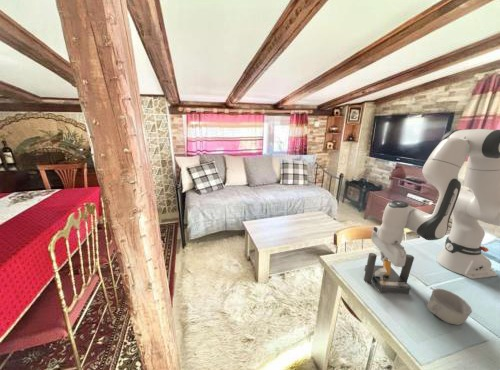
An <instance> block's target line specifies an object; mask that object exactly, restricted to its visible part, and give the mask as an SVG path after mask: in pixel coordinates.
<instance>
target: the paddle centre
mask: <svg viewBox="0 0 500 370" xmlns="http://www.w3.org/2000/svg"><path fill="white" fill-rule="evenodd" d="M382 262H383V263H382V266H383V268H386V271H387V272H386V273H385V274H384V275H390V270H391V267H392V263H391V261H390V260H388V261H382Z"/></svg>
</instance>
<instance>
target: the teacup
mask: <svg viewBox="0 0 500 370" xmlns="http://www.w3.org/2000/svg"><path fill="white" fill-rule="evenodd" d="M426 308H427V309H428V311H430V312H431V313H432V314H433V315H435V316H436V317H437V318H438V319H440V320H442V321H443V322H445V323H448V324H452V325H462V324H464V323H465V322H466V321H467V319H469V316H470V315H471V314H472V312H473V310H472V307H471V305H470V304H469V303H468V302H467V301H466V300H465V299H464V298H462V297H461V296H459V295H458V294H456V293H454V292H452V291H450V290H447V289H443V288H435V289H432V292H431V295H430V297H429V300H428V302H427V304H426Z"/></svg>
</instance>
